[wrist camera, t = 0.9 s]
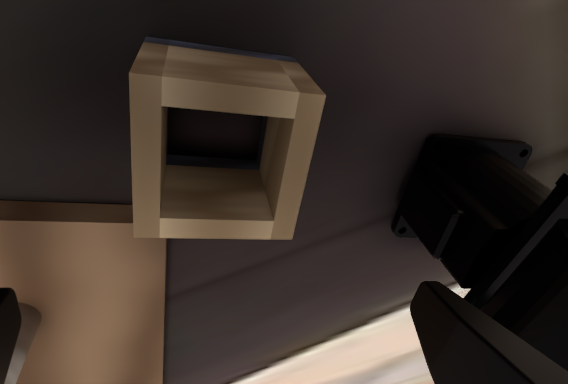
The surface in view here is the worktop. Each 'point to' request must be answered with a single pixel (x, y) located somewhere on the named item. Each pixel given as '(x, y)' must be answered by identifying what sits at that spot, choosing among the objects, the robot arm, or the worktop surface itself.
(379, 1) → the worktop surface
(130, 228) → the pin board
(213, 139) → the worktop surface
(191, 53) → the sleeve
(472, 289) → the robot arm
